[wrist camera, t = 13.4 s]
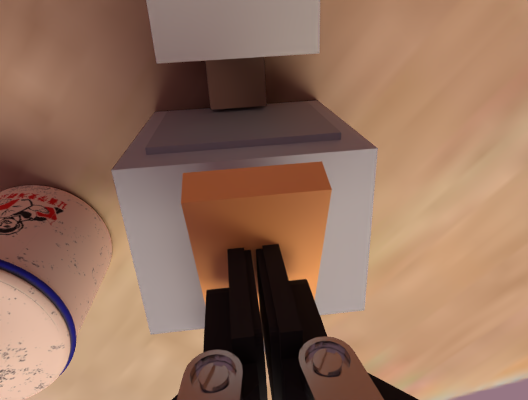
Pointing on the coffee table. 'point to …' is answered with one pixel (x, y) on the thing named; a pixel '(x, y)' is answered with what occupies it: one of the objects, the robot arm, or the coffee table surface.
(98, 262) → the teacup with lid
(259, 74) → the rail
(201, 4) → the block
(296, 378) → the robot arm
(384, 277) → the coffee table surface
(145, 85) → the coffee table surface
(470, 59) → the coffee table surface
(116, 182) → the cabinet
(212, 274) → the lever
